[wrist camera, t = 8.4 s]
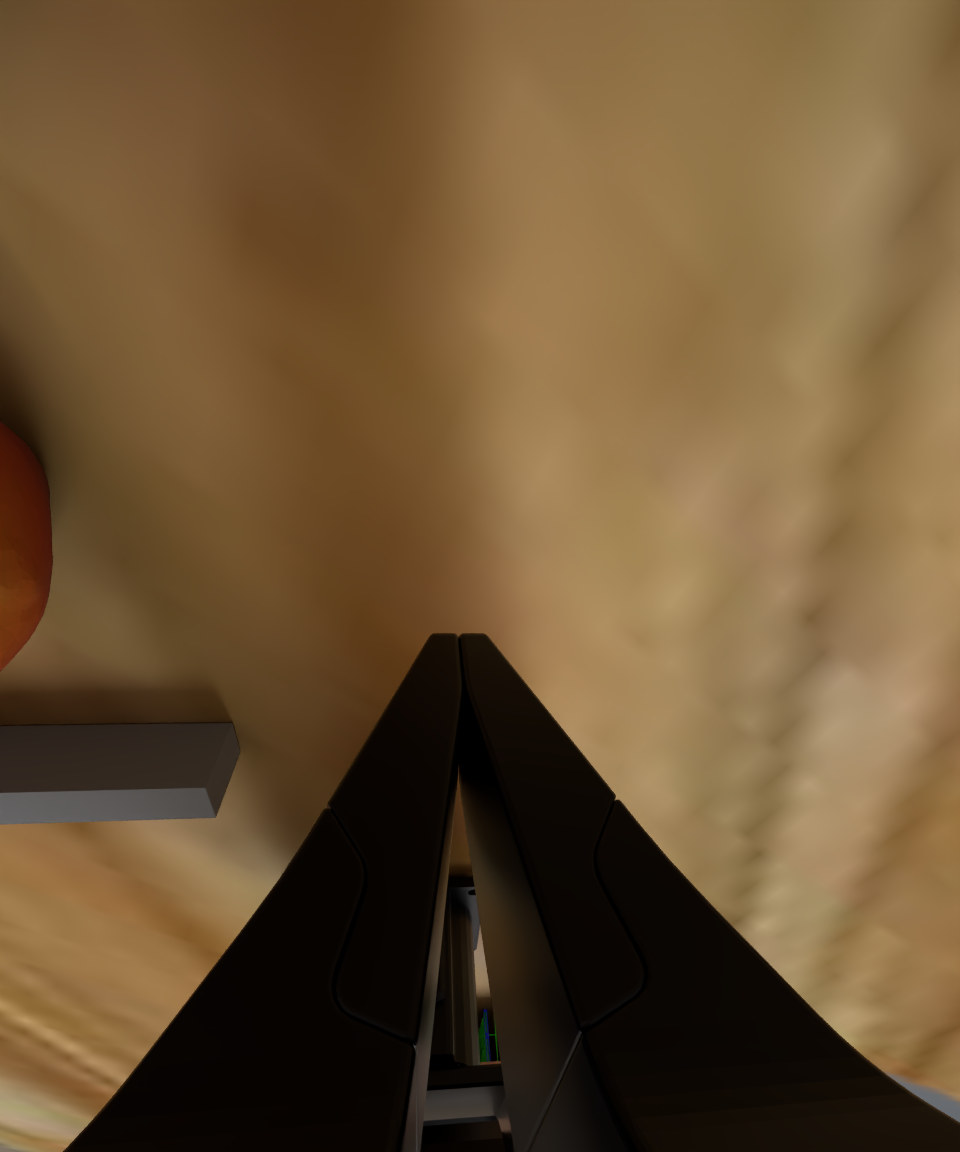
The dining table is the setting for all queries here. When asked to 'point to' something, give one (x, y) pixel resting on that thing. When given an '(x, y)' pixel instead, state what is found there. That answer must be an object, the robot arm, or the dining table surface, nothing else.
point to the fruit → (22, 544)
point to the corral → (114, 771)
